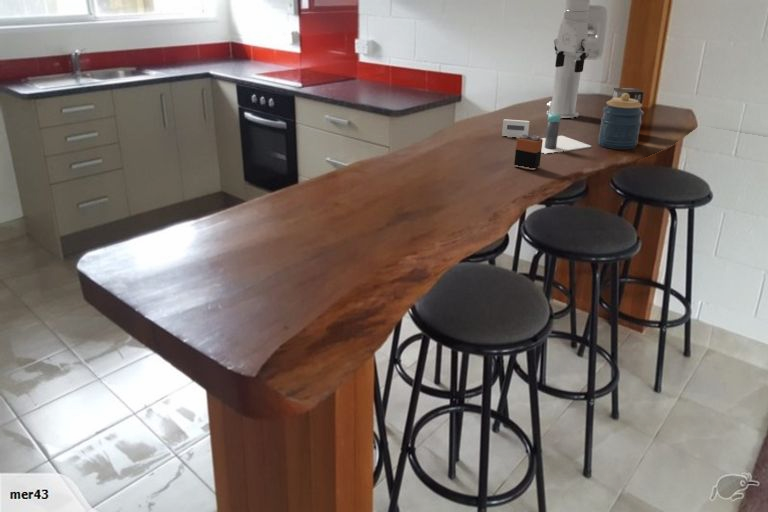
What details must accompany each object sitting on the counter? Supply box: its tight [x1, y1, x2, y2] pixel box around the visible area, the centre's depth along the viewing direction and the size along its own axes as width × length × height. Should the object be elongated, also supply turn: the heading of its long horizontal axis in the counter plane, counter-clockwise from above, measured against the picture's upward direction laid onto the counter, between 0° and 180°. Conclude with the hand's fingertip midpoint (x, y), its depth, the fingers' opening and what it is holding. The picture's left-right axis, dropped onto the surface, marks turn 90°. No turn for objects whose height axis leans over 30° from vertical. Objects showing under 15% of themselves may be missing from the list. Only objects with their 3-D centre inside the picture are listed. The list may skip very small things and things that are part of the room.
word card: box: [501, 118, 530, 139], centre depth 218 cm, size 1×9×6 cm, turn 74°
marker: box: [545, 114, 562, 149], centre depth 204 cm, size 4×4×11 cm
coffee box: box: [611, 87, 644, 110], centre depth 220 cm, size 9×6×16 cm
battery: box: [513, 135, 543, 169], centre depth 185 cm, size 4×7×10 cm, turn 55°
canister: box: [597, 93, 644, 151], centre depth 207 cm, size 13×13×18 cm
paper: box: [540, 135, 593, 155], centre depth 210 cm, size 15×20×1 cm
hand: (568, 69), depth 209 cm, fingers open, 9 cm apart
